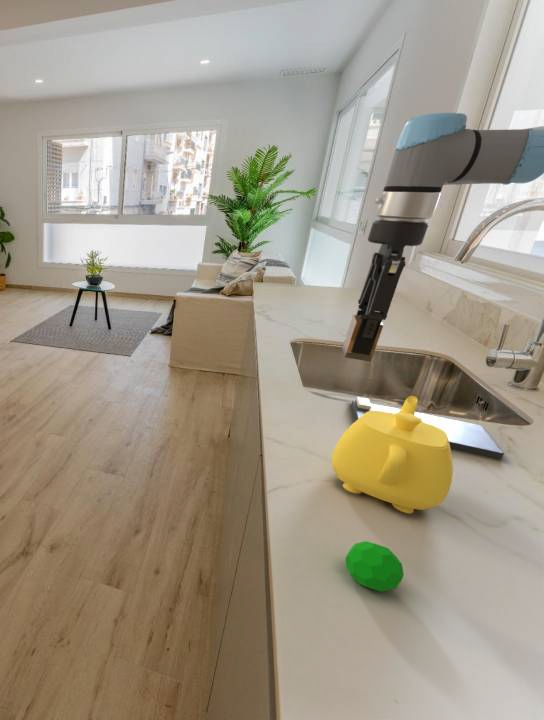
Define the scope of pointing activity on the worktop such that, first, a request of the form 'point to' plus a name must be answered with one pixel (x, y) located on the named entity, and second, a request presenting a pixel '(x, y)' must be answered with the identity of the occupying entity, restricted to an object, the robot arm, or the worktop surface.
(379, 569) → the polyhedron
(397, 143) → the robot arm
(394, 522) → the worktop surface
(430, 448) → the teapot
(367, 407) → the white flat block
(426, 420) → the white small block
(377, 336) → the brown block
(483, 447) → the slate board
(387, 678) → the worktop surface
